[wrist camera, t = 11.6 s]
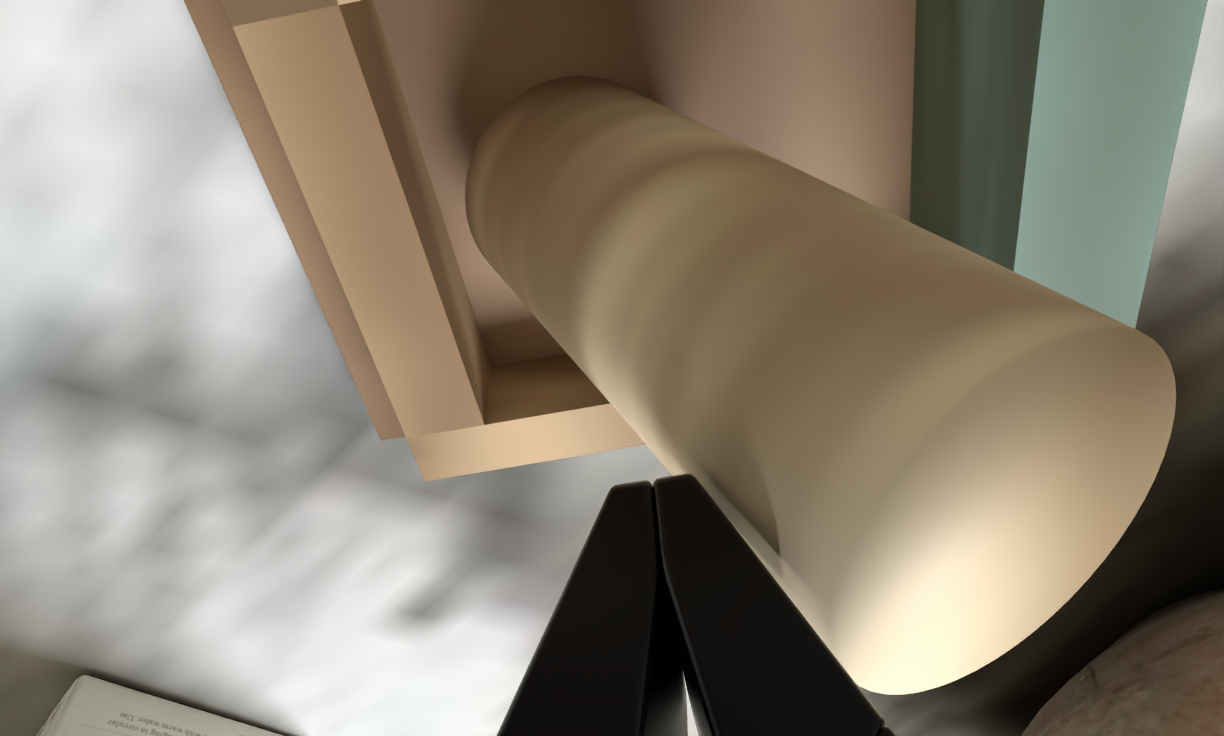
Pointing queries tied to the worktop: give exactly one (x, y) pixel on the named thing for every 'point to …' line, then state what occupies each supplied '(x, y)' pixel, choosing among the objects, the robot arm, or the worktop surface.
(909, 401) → the peg
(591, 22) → the cradle
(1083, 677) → the cooking pot
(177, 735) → the skincare box
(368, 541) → the worktop surface
